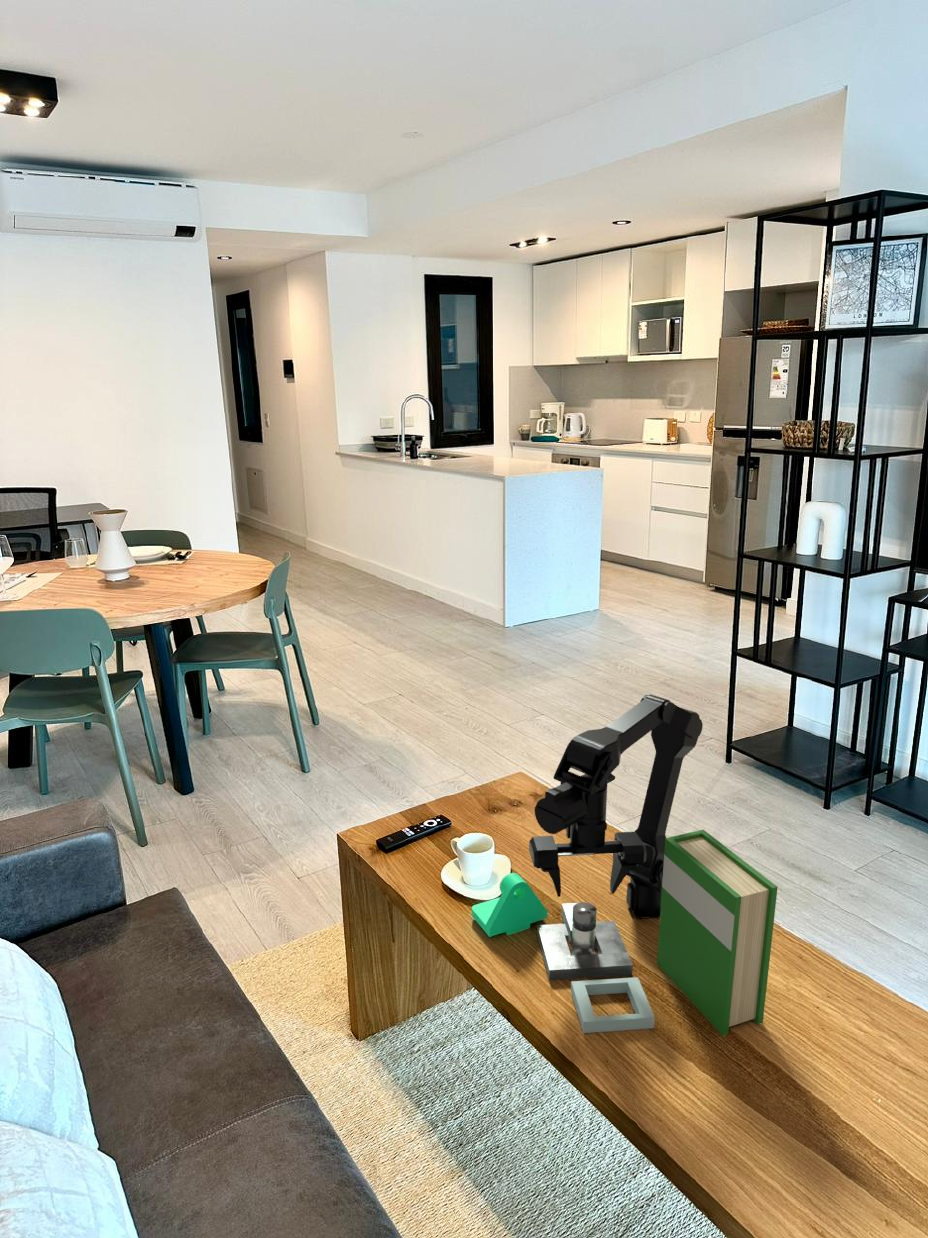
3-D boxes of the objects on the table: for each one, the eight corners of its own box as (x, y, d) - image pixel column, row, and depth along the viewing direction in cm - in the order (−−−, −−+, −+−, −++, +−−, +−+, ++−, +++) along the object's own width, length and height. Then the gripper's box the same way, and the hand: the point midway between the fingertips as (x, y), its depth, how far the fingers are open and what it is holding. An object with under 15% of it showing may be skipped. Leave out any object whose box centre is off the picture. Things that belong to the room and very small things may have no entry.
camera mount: (525, 901, 161) (526, 853, 158) (547, 923, 154) (548, 873, 151) (469, 919, 155) (469, 869, 153) (489, 942, 149) (489, 891, 146)
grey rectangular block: (577, 914, 156) (577, 902, 156) (587, 942, 149) (587, 929, 148) (561, 915, 156) (561, 903, 155) (570, 943, 148) (570, 930, 148)
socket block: (613, 930, 152) (614, 920, 151) (632, 975, 140) (632, 965, 140) (537, 934, 151) (537, 925, 150) (549, 980, 139) (549, 970, 138)
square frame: (637, 987, 137) (637, 977, 137) (653, 1028, 129) (654, 1017, 128) (570, 992, 136) (571, 981, 136) (583, 1033, 128) (583, 1022, 127)
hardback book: (762, 1023, 130) (777, 886, 123) (723, 1036, 127) (736, 897, 121) (693, 953, 145) (703, 829, 139) (656, 964, 143) (665, 838, 136)
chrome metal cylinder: (591, 946, 147) (593, 901, 145) (597, 961, 144) (599, 915, 141) (569, 947, 147) (570, 903, 145) (573, 962, 143) (575, 917, 141)
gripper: (630, 785, 146) (626, 864, 151) (524, 790, 145) (523, 870, 149) (649, 817, 136) (644, 901, 140) (535, 823, 134) (533, 908, 138)
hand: (585, 894), depth 142 cm, fingers open, 9 cm apart
